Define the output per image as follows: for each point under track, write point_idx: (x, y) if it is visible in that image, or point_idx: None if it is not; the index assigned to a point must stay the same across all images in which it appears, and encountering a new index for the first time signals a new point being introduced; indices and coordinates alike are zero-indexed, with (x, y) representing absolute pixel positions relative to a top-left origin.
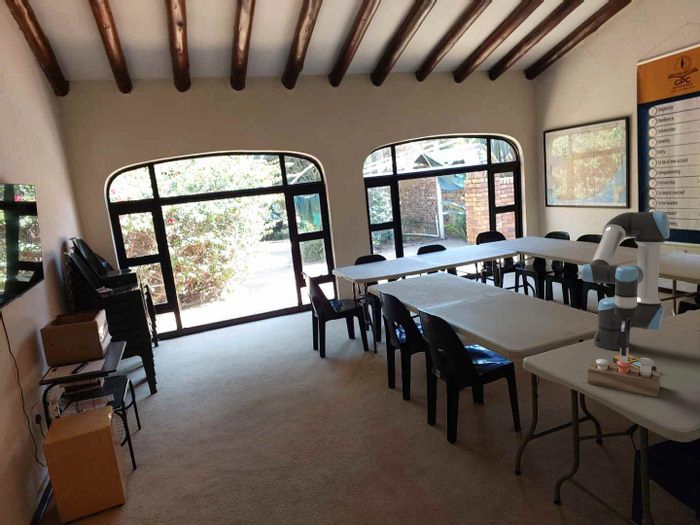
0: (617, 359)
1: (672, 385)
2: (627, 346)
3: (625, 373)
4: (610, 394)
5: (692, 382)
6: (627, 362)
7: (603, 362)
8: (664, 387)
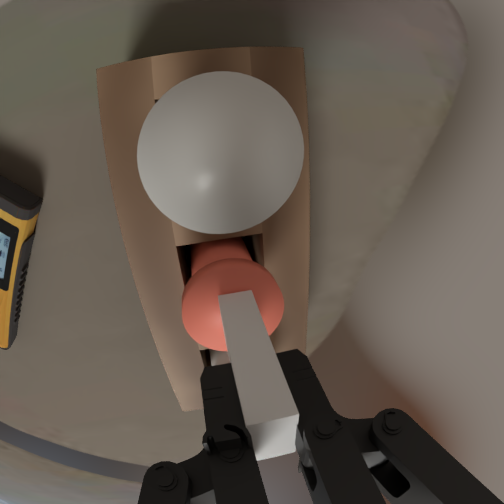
0: (10, 333)
1: (81, 40)
2: (333, 434)
3: (264, 254)
4: (347, 246)
5: (13, 4)
6: (246, 295)
7: None
8: (127, 59)
